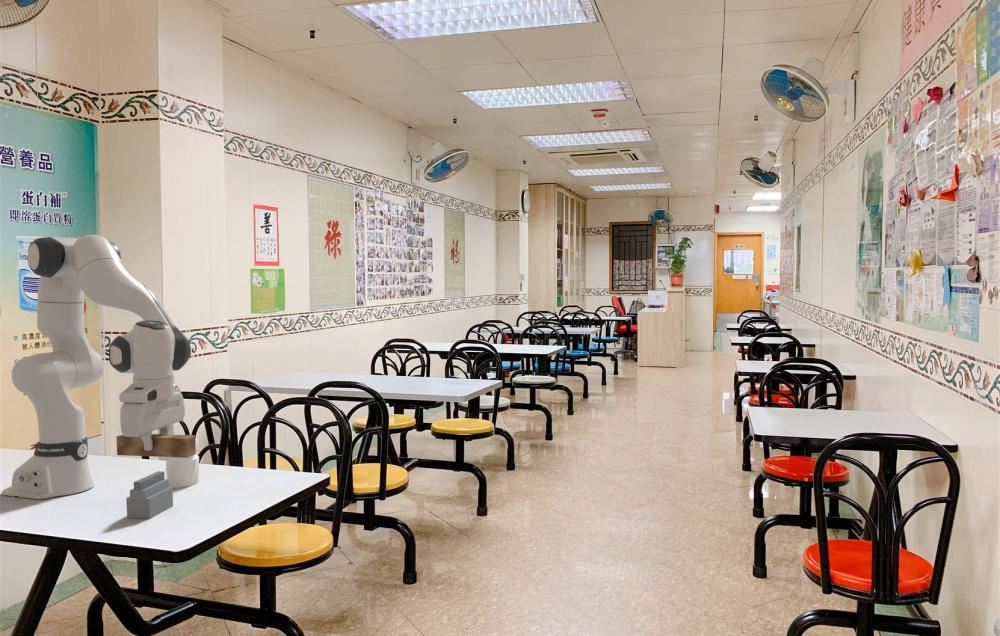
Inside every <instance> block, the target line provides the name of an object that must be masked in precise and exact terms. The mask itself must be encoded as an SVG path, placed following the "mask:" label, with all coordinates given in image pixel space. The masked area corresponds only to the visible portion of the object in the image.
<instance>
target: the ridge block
mask: <svg viewBox="0 0 1000 636" xmlns="http://www.w3.org/2000/svg"><path fill="white" fill-rule="evenodd" d="M165 477H166V476H165V471H162V470H161V471H160V470H159V471H156V472H153V473H151V474H149V475H147V476H145V477H142V478H140V479H138V480H135V481H134V482H133V488H131V489H130V490H129V496H127V497H126V501H125V502H126V518H127V519H142V520H143V519H145V520H146V519H147V520H150V519H152V518H154V517H156V516H157V515H159V514H162V513H163V512H165V511H167V510H169V509H170V508H172V507H173V506H174V491H173V490H174V489H173V488H174V487H169V479H167V478H165Z"/></svg>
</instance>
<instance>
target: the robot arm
mask: <svg viewBox="0 0 1000 636" xmlns="http://www.w3.org/2000/svg"><path fill="white" fill-rule="evenodd" d="M27 264H28V267H29V268H30V270H31V272H33V274H35V275H36V276H39V277H40V278H39V282H38V289H37V306H36V307H37V309H36V310H37V313H36V318H37V319H36V326H37V330H38V331H39V332H40V333H41V334H42V335H44V336H45V337H47V338H48V339H49V341H50V344H51V346H52V351H51V352H50V351H48V352H41V353H35V354H31V355H29V356H26V357H23V358H21V359H19V360H17V361H16V363H15V364H14V365H13V367H12V370H11V380H12V383H13V385H14V387H15V389H17V390H18V391H19V392H21V393H23V394H24V395H25V396H26V397H27V398H28V400H30V402H31V404H32V406H33V407H34V410H35V413H36V416H37V417H36V418H37V423H38V426H37V427H38V437H39V438H38V440H39V441H38V442H36V443H35V444H30V447H31V448H30V450H33V449H34V452H33V455H31V457H30V458H28V459H27V460H26V461H25V462H24V463H22V464H20V466H18V467H17V468H16V469H15V470H14V472H12V473H13V474H12V478H11V485H10V486H8V487H6V488H5V489H3V490H2V491H1V496H6V495H7V496H9V497H15V496H18V497H17V498H25V499H34V500H46V499H49V498H54V497H62V496H68V495H69V496H70V495H73V494H78V493H81V492H86V491H88V490H90V489H92V488H94V486H95V483H94V481H93V478H92V475H91V470H90V467H89V461H88V450H89V443H88V441H89V440H88V437H87V436H86V416H85V411H84V409H83V407H81V405H78V404H76V403H74V402H73V400H72V398H71V395H70V391H69V390H72V389H77V388H82V387H83V388H84V387H85V386H87V385H90V384H92V383H94V382H96V381H98V380H99V379H100V378H101V377H102V376H103V373H104V369H105V364H104V361H103V358H102V355H100V354H99V353H98V352H97V351H95V349H93V348H92V346H91V344H90V342H89V339H88V336H87V334H86V330H85V329H86V328H85V295H86V297H87V298H88V299H89V300H90V301H92V302H93V303H96V304H97V305H101V306H104V307H110V308H114V309H120V310H124V311H128V312H129V313H133V314H135V315H137V316H139V317H140V318H142V320H140V321H137V322H135V323H134V324H133V327H132V329H131V330H130V331H128V332H126V333H124V334H122V335H118V336H116V337H114V339H113V340H112V341H111V343H110V344H109V345H108V361H109V365H111V367H112V368H113V369H114V370H116V371H117V372H118V373H120V374H121V373H123V374H133V376H132V383H130V385H128V387H127V388H126V389H123V391H121V392H120V394H119V395H118V398H119V402H120V403H122V405H121V406H120V415H119V418H120V419H119V421H120V430H121V431H120V432H121V433H122V434H123V435H124V436H130V437H136V436H140V437H141V439H142V441H143V443H144V449H145V450H152V449H154V448H155V446H154V445H155V442H152V439H151V436H152V434H153V431H156V430H159V433H158V434H167V435H169V433H170V430H171V425H174V424H176V423H179V422H182V421H183V420H184V419H185V416H186V412H185V411H186V410H185V402H184V397H183V394H182V392H181V388H180V387H179V386H178V385H177V384H176V383H175V372H176V371H180V370H181V369H182V368H183V367H184V366H185V365H186V364H187V363H188V361H189V360H190V358H191V357H192V356H191V355H192V348H191V344H190V342H189V339H188V338H187V336H185V334H184V333H183V332H182V331H181V330H179V328H178V327H177V326H176V325H175V323H174V322H173V320H172V319H171V318H170V316H169V315H168V313H167V312H166V310H165V308H164V307H163V306H162V304H161V303H160V302H159V300H158V299H157V297H156V296H155V294H154V293H153V292H152V290H151V289H149V287H147V286H146V285H144V284H143V283H140V282H139V281H138V280H136V278H134V277H133V276H132V275H131V274H130V272H128V270H127V269H126V267H125V265H124V263H123V261H122V256H121V251H120V249H119V248H118V246H117V245H116V243H114V242H113V241H110V240H108V239H106V237H104V236H102V235H97V234H87V235H84V236H82V237H77V236H75V237H51V236H43V237H39V238H35V239H34V240H33V241H32V242H31V243H30V244H29V246H28V249H27ZM7 496H6V497H7Z"/></svg>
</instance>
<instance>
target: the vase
mask: <svg viewBox="0 0 1000 636" xmlns="http://www.w3.org/2000/svg"><path fill="white" fill-rule="evenodd" d="M195 447H196V452H198V451H199V440H198V439H197V438H195ZM165 461H166V462H165V474H166V476H165V477H166V479H169V487H173V488H187V487H192V486H194V485H197V484H199V483H200V482H201V481H200V480H201V476H200V456H199V455H198V454H195V455H192V456H190V457H188V458H182V457H166V460H165Z"/></svg>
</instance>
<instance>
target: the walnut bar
mask: <svg viewBox="0 0 1000 636" xmlns="http://www.w3.org/2000/svg"><path fill="white" fill-rule="evenodd" d="M151 439H152V442H155V445H154V446H155V448H154V449H152V450H145V449H144V443H143V441H142V439H141V437H140V436H136V437H130V436H124V435H123V433H122V434H120V435H117V436H116V455H117V456H128V457H129V456H130V457H131V456H132V457H133V456H134V457H135V456H136V457H153V458H155V457H158V458H168V457H182V458H188V457H190V456H192V455H195V454H196V452H197V451H196V447H195V439H196V435H193V434H168V435H167V434H159V433H152V436H151ZM196 455H197V454H196Z"/></svg>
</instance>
